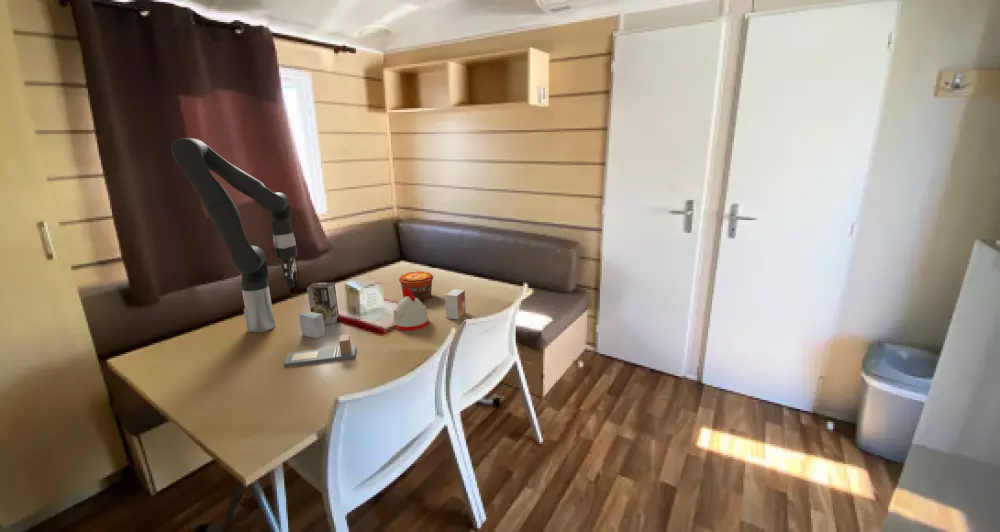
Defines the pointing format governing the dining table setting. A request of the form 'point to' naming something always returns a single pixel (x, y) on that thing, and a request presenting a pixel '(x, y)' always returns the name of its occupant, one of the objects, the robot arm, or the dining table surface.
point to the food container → (417, 284)
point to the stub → (345, 348)
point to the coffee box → (324, 301)
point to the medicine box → (312, 324)
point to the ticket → (310, 357)
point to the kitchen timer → (410, 313)
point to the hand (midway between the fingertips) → (292, 284)
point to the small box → (455, 304)
